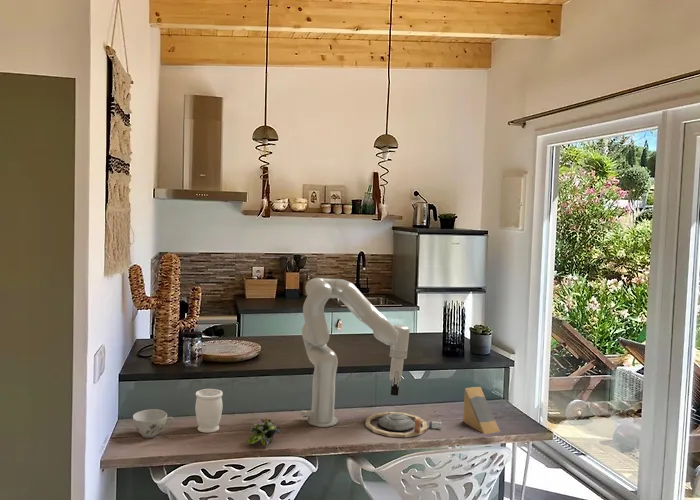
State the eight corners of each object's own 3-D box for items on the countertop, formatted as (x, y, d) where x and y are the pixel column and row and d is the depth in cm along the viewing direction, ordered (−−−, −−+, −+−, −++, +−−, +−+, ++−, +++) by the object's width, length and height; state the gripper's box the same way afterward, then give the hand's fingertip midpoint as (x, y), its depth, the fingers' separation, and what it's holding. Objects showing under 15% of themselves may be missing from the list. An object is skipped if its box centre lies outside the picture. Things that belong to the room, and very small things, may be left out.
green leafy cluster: (265, 454, 232) (282, 426, 235) (269, 460, 222) (288, 431, 225) (240, 438, 230) (258, 411, 233) (244, 444, 220) (263, 415, 223)
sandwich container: (484, 434, 247) (486, 399, 246) (462, 421, 261) (464, 387, 260) (501, 432, 251) (503, 397, 250) (478, 419, 265) (480, 386, 264)
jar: (227, 427, 243) (228, 391, 242) (211, 436, 234) (211, 398, 233) (206, 422, 248) (206, 386, 246) (189, 430, 238) (190, 393, 237)
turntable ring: (364, 434, 241) (365, 420, 241) (367, 412, 267) (367, 399, 266) (428, 438, 240) (429, 424, 239) (425, 416, 265) (425, 402, 264)
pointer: (429, 428, 251) (429, 422, 251) (429, 426, 253) (429, 421, 253) (441, 429, 251) (441, 423, 251) (441, 427, 253) (441, 421, 252)
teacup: (130, 441, 225) (130, 421, 225) (134, 429, 237) (135, 409, 237) (172, 440, 229) (172, 419, 228) (174, 427, 241) (174, 408, 240)
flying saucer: (419, 424, 256) (419, 411, 256) (406, 436, 243) (407, 422, 242) (386, 417, 263) (387, 405, 262) (372, 428, 249) (373, 415, 249)
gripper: (389, 349, 271) (385, 388, 272) (389, 356, 256) (385, 398, 257) (406, 350, 270) (402, 390, 272) (407, 358, 256) (403, 400, 257)
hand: (394, 394), depth 264 cm, fingers closed
